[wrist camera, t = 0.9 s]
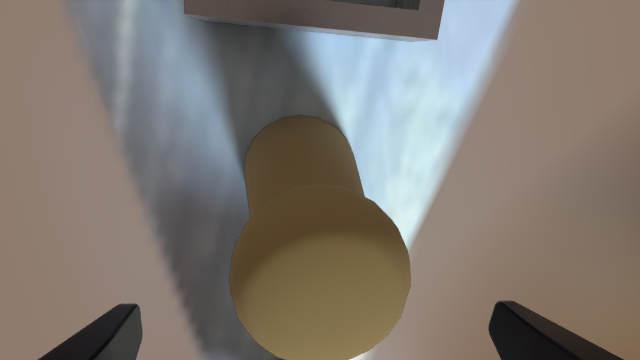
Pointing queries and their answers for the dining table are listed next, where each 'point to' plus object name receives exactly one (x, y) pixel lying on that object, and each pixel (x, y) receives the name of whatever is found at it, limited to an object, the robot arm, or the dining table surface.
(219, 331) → the dining table surface
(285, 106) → the dining table surface
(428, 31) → the socket frame
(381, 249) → the cork
